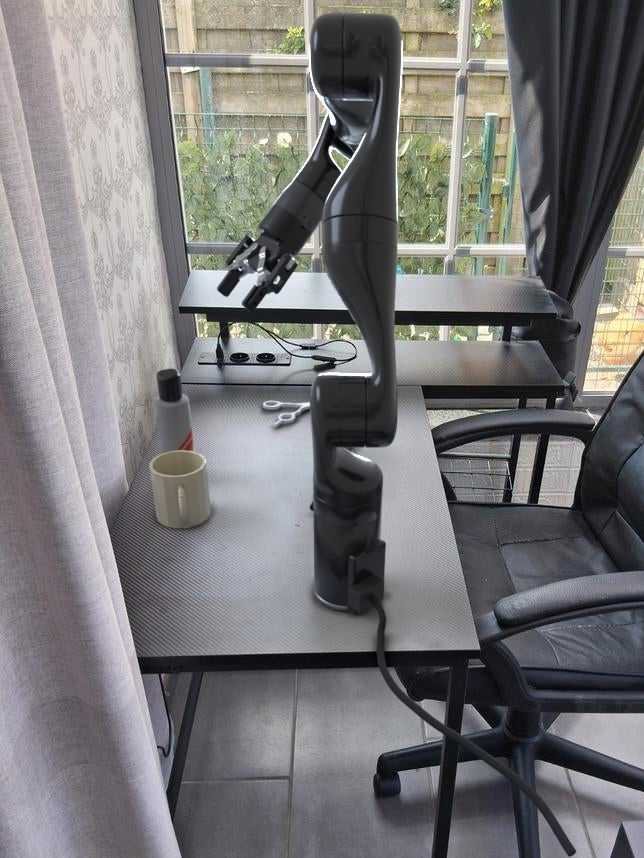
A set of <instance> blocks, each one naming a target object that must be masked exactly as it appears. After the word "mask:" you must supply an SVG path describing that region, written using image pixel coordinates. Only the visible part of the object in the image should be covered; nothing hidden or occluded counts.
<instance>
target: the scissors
mask: <svg viewBox="0 0 644 858" xmlns="http://www.w3.org/2000/svg"><path fill="white" fill-rule="evenodd" d="M286 407H287V408H288V407H289V408H298V410H296V411H293V412H283V413H281V414H280V415H278V417H277V419H278V420H277V421H276V422H274V423H273V427H274V428H278V427H279V426H280V425H282V424H290V423H293V422H294V421H295V420H296V416H298V415H300V414H301V413H302V412H304V411H306V410H310V401H307V402H299V403H298V402H296V403H295V402H281V401H278V400H267V401H264V402H263V403H262V408H263V409H264V410H269V411H270V410H272V411H273V410H275V411H276V410H279V409H280V408H286ZM285 418H286V419H285Z"/></svg>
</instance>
